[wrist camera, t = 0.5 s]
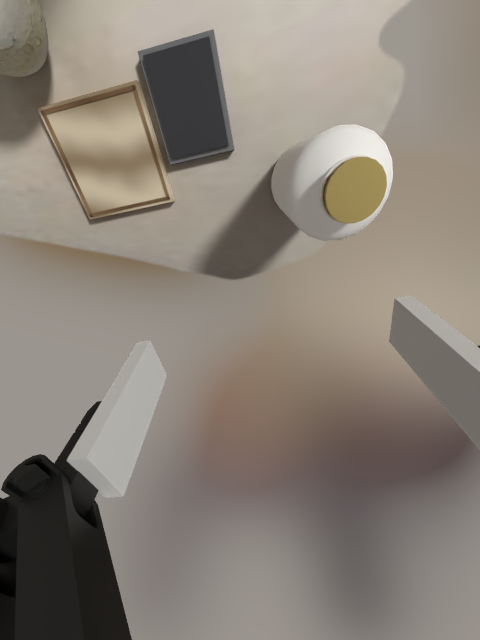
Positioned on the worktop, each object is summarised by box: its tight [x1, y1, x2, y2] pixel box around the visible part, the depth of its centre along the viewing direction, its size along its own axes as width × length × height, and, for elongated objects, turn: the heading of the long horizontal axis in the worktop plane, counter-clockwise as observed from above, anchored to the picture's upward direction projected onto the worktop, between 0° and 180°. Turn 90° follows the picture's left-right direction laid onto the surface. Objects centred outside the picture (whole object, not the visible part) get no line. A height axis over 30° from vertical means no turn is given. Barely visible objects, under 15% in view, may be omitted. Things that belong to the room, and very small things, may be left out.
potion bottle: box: [271, 124, 393, 241], centre depth 25 cm, size 8×8×18 cm
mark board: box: [37, 80, 175, 220], centre depth 31 cm, size 12×12×1 cm
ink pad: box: [138, 30, 234, 165], centre depth 28 cm, size 10×8×2 cm
